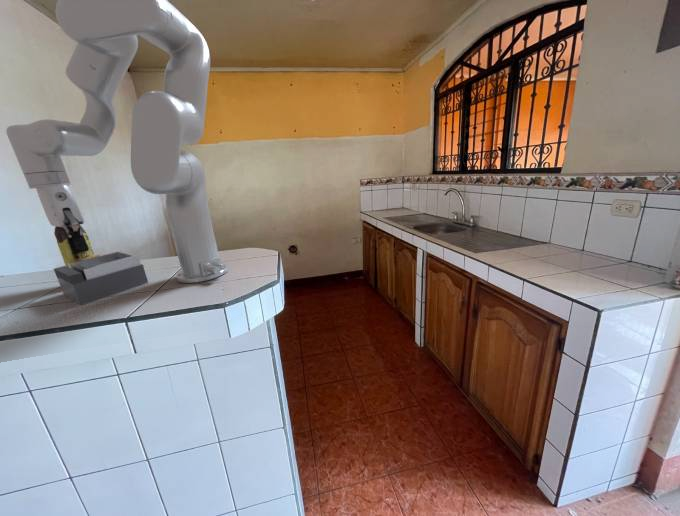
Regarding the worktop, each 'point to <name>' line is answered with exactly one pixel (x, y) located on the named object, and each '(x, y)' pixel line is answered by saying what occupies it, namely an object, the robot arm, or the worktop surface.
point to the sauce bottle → (65, 246)
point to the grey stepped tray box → (100, 276)
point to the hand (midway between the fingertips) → (76, 250)
